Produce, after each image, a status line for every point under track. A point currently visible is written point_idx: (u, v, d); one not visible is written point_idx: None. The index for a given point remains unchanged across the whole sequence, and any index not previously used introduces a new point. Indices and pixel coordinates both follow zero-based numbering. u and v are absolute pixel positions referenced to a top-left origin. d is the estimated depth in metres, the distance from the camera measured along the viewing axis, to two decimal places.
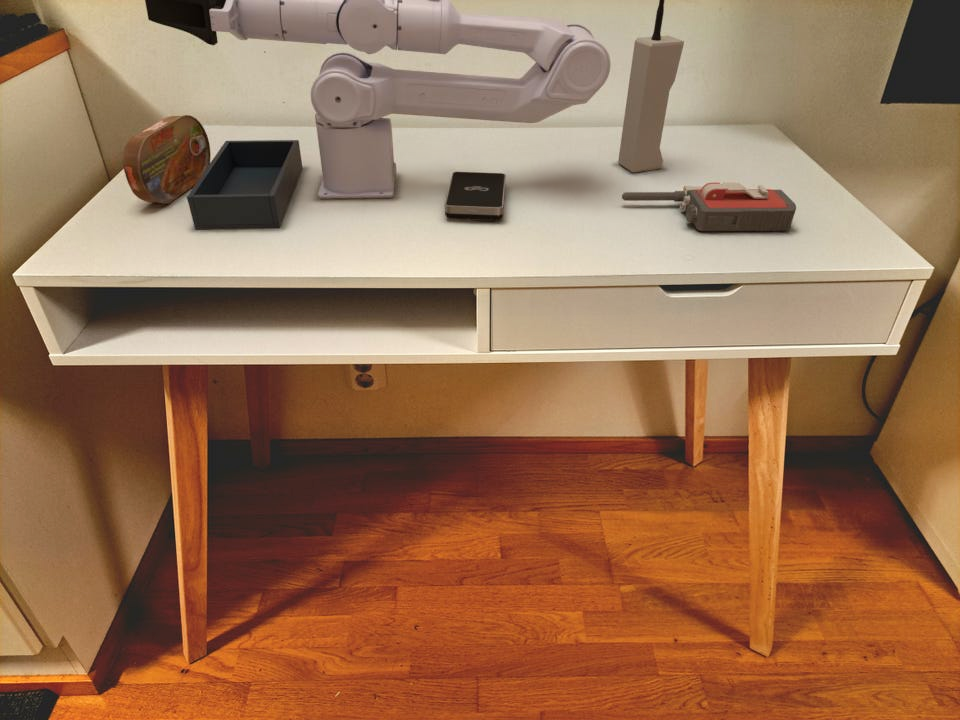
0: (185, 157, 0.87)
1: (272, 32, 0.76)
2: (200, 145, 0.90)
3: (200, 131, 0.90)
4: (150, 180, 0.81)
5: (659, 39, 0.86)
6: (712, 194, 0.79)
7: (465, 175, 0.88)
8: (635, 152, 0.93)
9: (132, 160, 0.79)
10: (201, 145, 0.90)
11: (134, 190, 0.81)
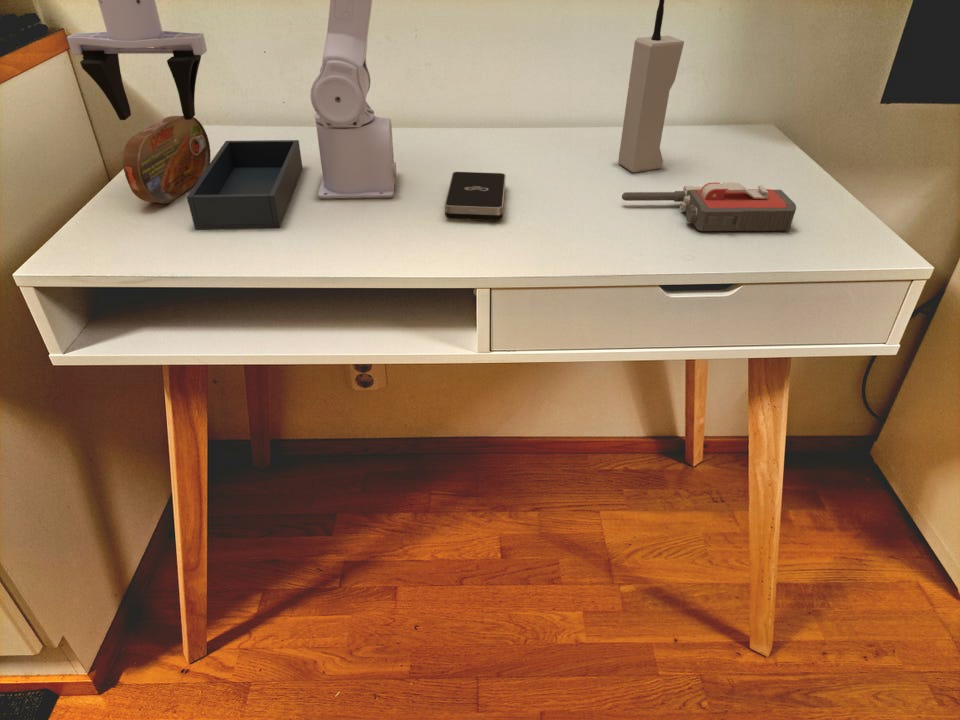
0: (185, 156, 0.87)
1: (99, 5, 0.74)
2: (200, 145, 0.90)
3: (200, 131, 0.90)
4: (150, 180, 0.81)
5: (659, 39, 0.86)
6: (712, 194, 0.79)
7: (465, 175, 0.88)
8: (635, 152, 0.93)
9: (132, 160, 0.79)
10: (201, 145, 0.90)
11: (134, 190, 0.81)
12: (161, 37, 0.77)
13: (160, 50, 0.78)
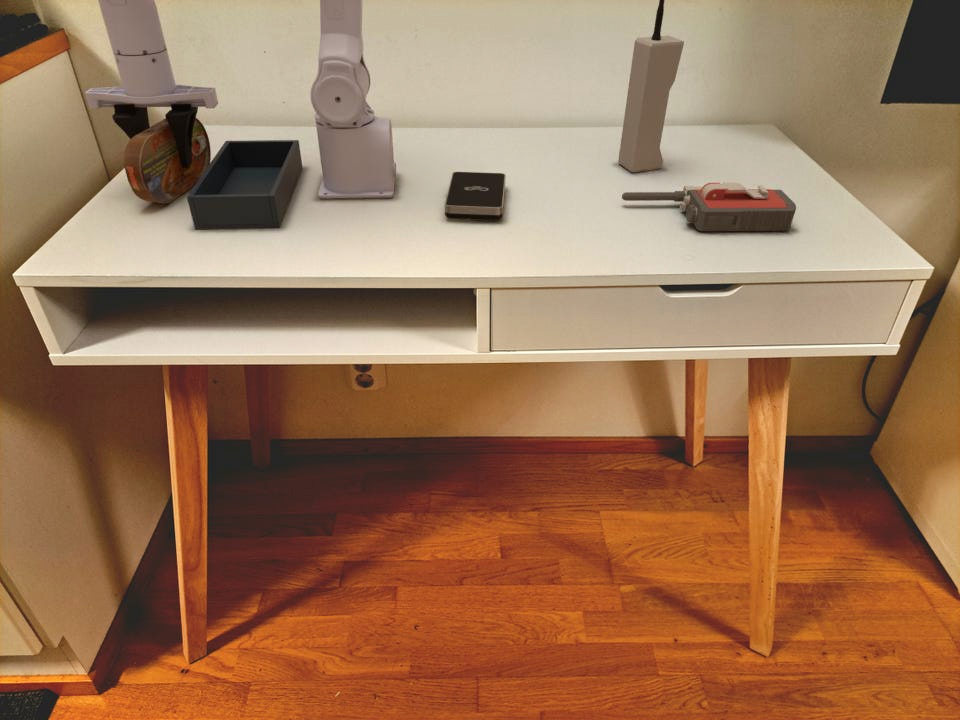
0: None
1: (116, 63, 0.77)
2: (201, 145, 0.90)
3: (201, 131, 0.90)
4: (151, 180, 0.81)
5: (659, 39, 0.86)
6: (712, 194, 0.79)
7: (465, 175, 0.88)
8: (635, 152, 0.93)
9: (133, 160, 0.79)
10: (202, 145, 0.90)
11: (134, 190, 0.81)
12: (175, 92, 0.80)
13: (174, 104, 0.81)
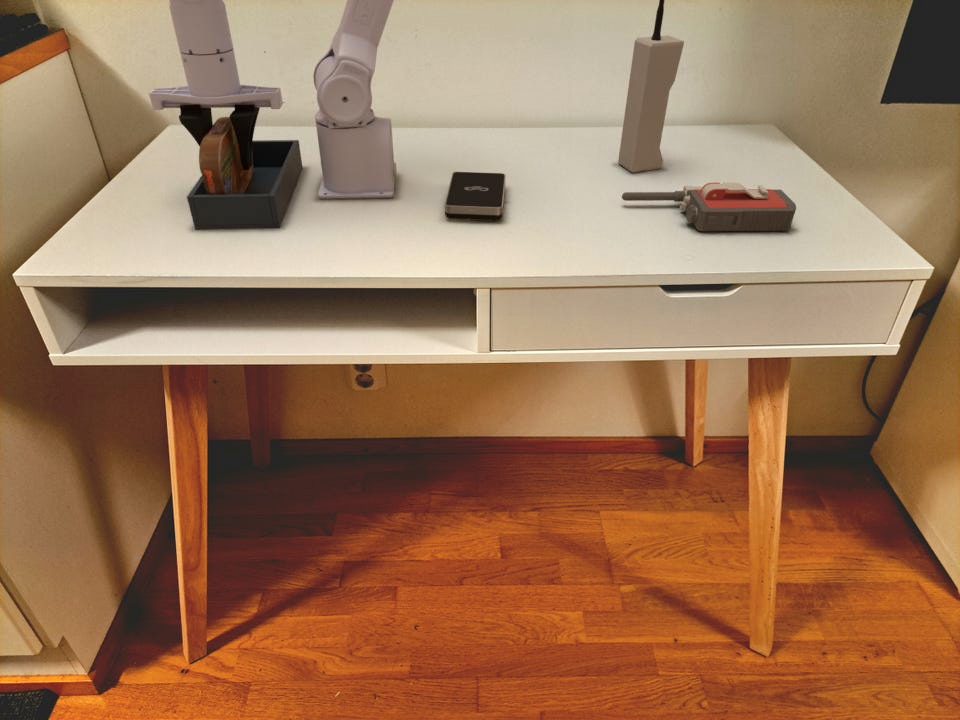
0: None
1: (183, 63, 0.75)
2: None
3: None
4: (225, 183, 0.79)
5: (659, 39, 0.86)
6: (712, 194, 0.79)
7: (465, 175, 0.88)
8: (635, 152, 0.93)
9: (212, 163, 0.77)
10: None
11: (210, 194, 0.79)
12: (240, 92, 0.79)
13: (238, 104, 0.80)
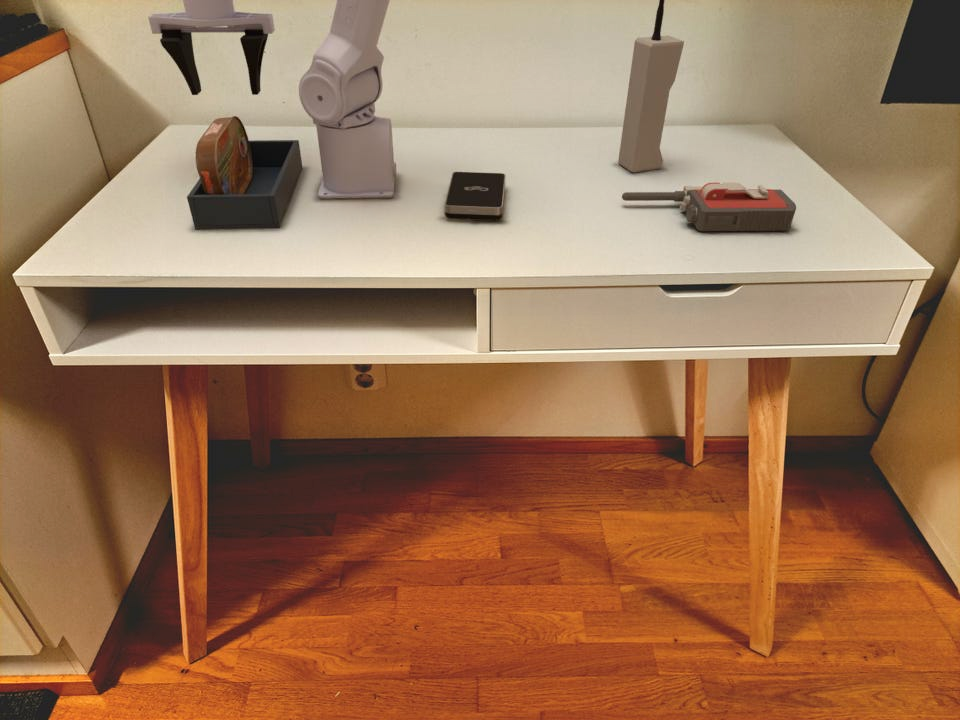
0: (238, 159, 0.86)
1: None
2: (244, 146, 0.88)
3: (242, 132, 0.88)
4: (223, 183, 0.79)
5: (659, 39, 0.86)
6: (712, 194, 0.79)
7: (465, 175, 0.88)
8: (635, 152, 0.93)
9: (208, 164, 0.77)
10: (245, 146, 0.89)
11: None
12: (234, 17, 0.83)
13: (232, 29, 0.84)
